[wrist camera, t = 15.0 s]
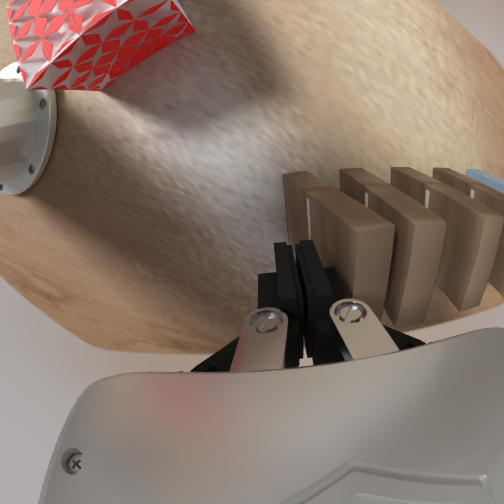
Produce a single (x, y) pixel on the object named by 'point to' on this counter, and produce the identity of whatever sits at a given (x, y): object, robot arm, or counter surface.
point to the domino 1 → (341, 236)
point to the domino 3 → (457, 235)
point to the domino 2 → (402, 244)
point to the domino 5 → (500, 276)
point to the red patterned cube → (89, 39)
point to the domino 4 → (486, 179)
